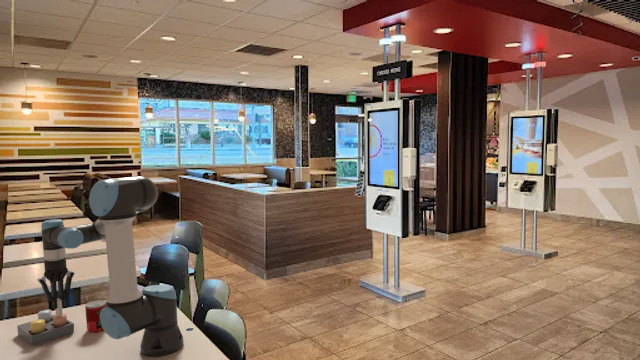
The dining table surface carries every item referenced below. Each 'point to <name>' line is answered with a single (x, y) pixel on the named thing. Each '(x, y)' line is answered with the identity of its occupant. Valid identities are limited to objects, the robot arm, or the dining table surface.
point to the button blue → (45, 315)
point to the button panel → (44, 332)
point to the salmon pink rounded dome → (59, 320)
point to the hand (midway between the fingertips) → (59, 315)
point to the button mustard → (37, 326)
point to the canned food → (94, 315)
